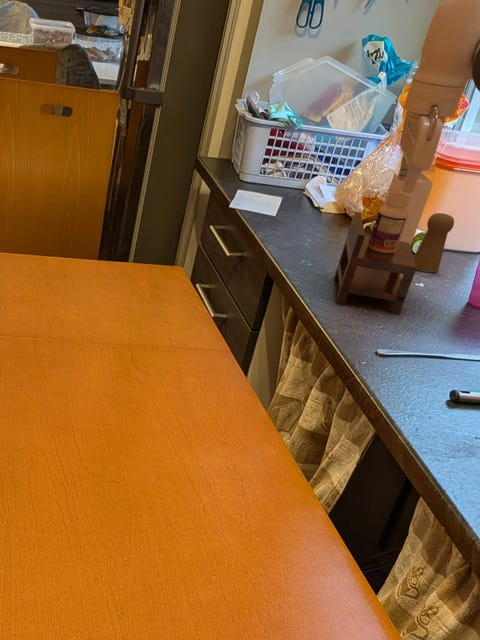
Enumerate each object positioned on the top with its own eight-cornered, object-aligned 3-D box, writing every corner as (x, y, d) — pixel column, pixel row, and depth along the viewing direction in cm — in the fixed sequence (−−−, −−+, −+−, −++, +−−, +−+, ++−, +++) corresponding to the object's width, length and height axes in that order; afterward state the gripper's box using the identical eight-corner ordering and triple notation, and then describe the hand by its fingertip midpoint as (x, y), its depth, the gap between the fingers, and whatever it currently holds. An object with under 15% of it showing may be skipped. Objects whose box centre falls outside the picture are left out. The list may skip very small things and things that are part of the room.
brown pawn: (417, 261, 206) (436, 208, 199) (443, 269, 203) (463, 216, 196) (405, 265, 203) (424, 212, 195) (430, 274, 199) (451, 220, 192)
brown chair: (392, 288, 190) (416, 221, 182) (398, 315, 178) (425, 245, 170) (333, 277, 192) (354, 211, 183) (335, 304, 180) (358, 234, 171)
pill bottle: (372, 243, 182) (389, 189, 176) (399, 250, 180) (417, 196, 174) (363, 248, 178) (380, 194, 172) (390, 256, 176) (409, 201, 170)
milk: (370, 277, 194) (409, 163, 180) (362, 268, 199) (399, 155, 185) (399, 280, 194) (439, 165, 180) (390, 270, 199) (429, 158, 185)
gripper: (458, 114, 155) (427, 202, 163) (444, 94, 170) (416, 175, 179) (419, 109, 155) (390, 197, 164) (408, 89, 171) (383, 170, 180)
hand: (404, 185), depth 172 cm, fingers open, 8 cm apart
